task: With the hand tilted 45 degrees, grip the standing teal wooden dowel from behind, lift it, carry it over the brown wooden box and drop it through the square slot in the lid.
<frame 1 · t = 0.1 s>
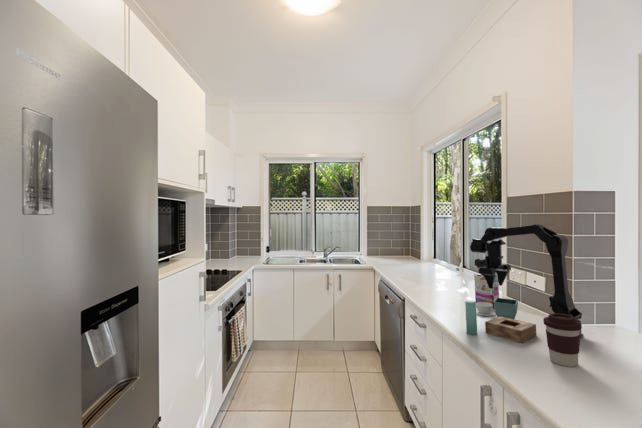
hand: (495, 287, 147), 15 cm above the countertop, tool pointing down, fingers open, 9 cm apart
teacup: (484, 314, 155), on the countertop
flower pot: (506, 320, 144), on the countertop
coffee cup: (563, 362, 102), on the countertop
candy bar box: (487, 305, 168), on the countertop
brown wooden box: (510, 334, 127), on the countertop
dowel: (471, 333, 129), on the countertop
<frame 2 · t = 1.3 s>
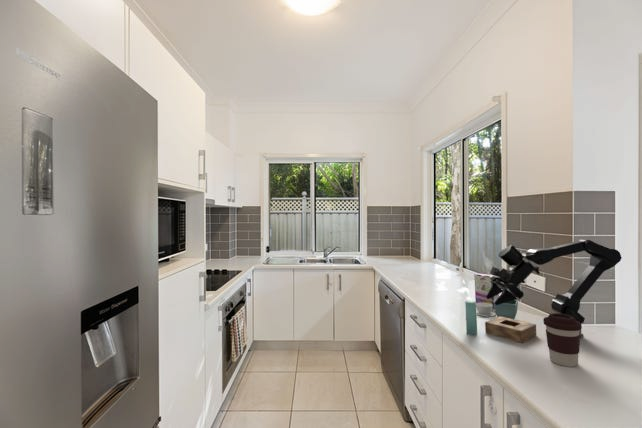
hand: (491, 301, 128), 13 cm above the countertop, tool tilted 45°, fingers open, 9 cm apart
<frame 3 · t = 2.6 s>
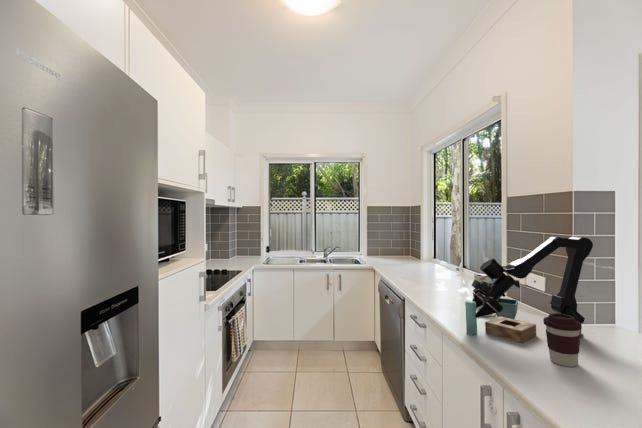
hand: (472, 313, 130), 8 cm above the countertop, tool tilted 45°, fingers open, 9 cm apart
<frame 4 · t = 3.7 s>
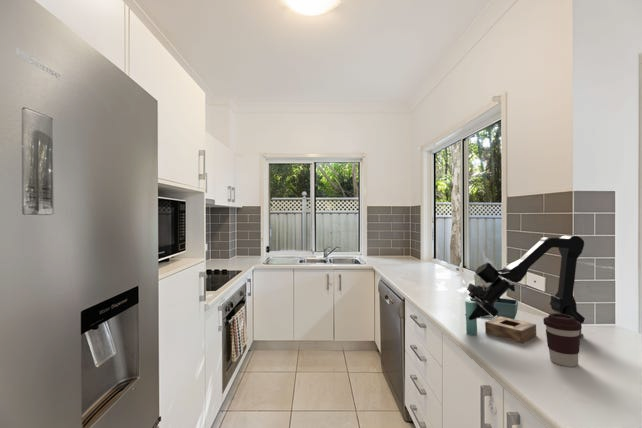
hand: (467, 317, 130), 7 cm above the countertop, tool tilted 45°, fingers closed on dowel, 4 cm apart
dowel: (471, 333, 129), on the countertop, touching gripper
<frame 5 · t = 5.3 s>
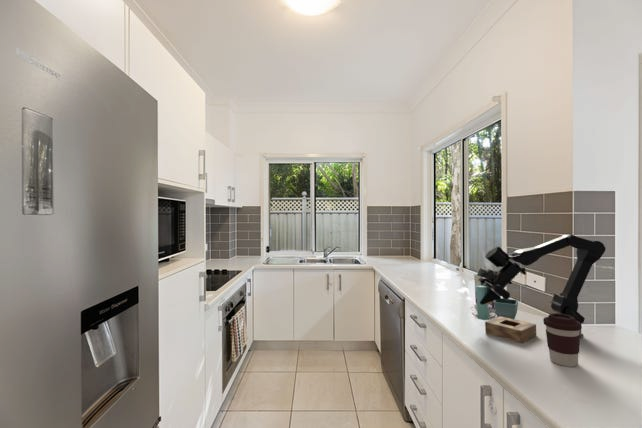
hand: (478, 302, 129), 13 cm above the countertop, tool tilted 45°, fingers closed on dowel, 4 cm apart
dowel: (483, 318, 129), point 6 cm above the countertop, touching gripper
when the fingers open (12 cm above the countertop, at t = 6.7 s): dowel drops 5 cm, resting on brown wooden box.
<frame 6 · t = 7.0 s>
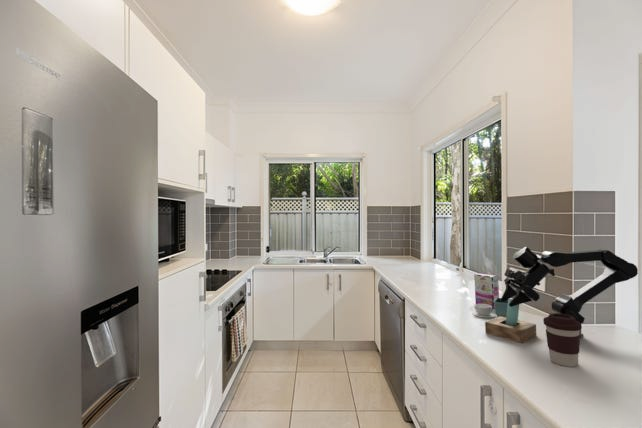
hand: (505, 303, 128), 13 cm above the countertop, tool tilted 45°, fingers open, 7 cm apart
dowel: (510, 332, 127), point 1 cm above the countertop, tilted 9°, touching brown wooden box
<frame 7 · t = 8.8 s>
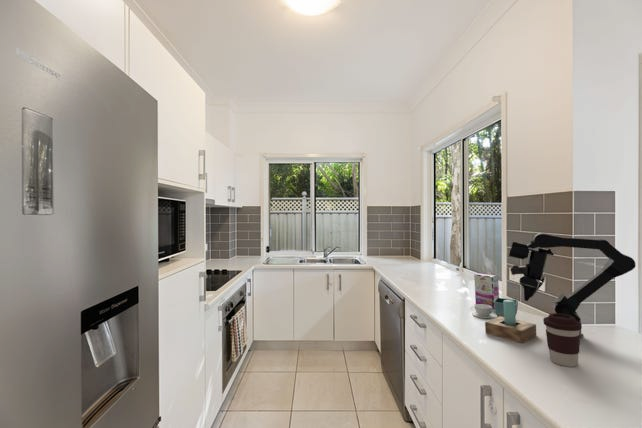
hand: (528, 298, 131), 13 cm above the countertop, tool pointing down, fingers open, 9 cm apart
dowel: (510, 333, 127), resting on brown wooden box
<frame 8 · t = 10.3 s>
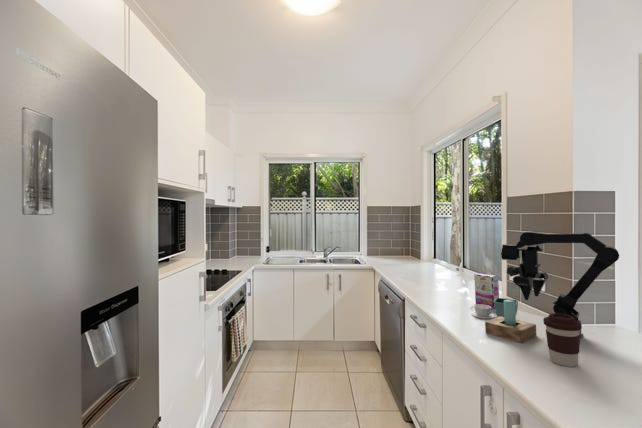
hand: (531, 298, 132), 13 cm above the countertop, tool pointing down, fingers open, 9 cm apart
at the end: dowel inside the target area on the brown wooden box (0.0 cm from its centre), point 0.4 cm above the brown wooden box's base; the gripper is holding nothing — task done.
